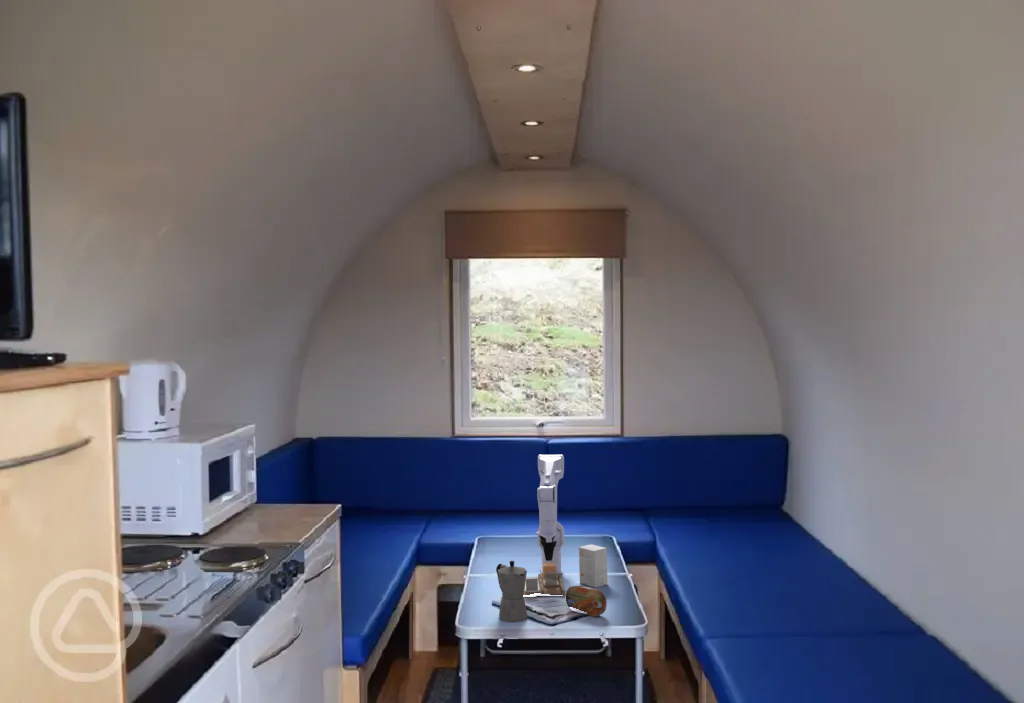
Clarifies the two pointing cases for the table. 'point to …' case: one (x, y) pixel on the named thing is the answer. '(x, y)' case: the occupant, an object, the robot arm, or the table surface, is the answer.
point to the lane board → (549, 590)
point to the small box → (593, 565)
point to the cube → (549, 568)
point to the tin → (586, 600)
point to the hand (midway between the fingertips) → (548, 557)
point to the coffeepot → (512, 592)
